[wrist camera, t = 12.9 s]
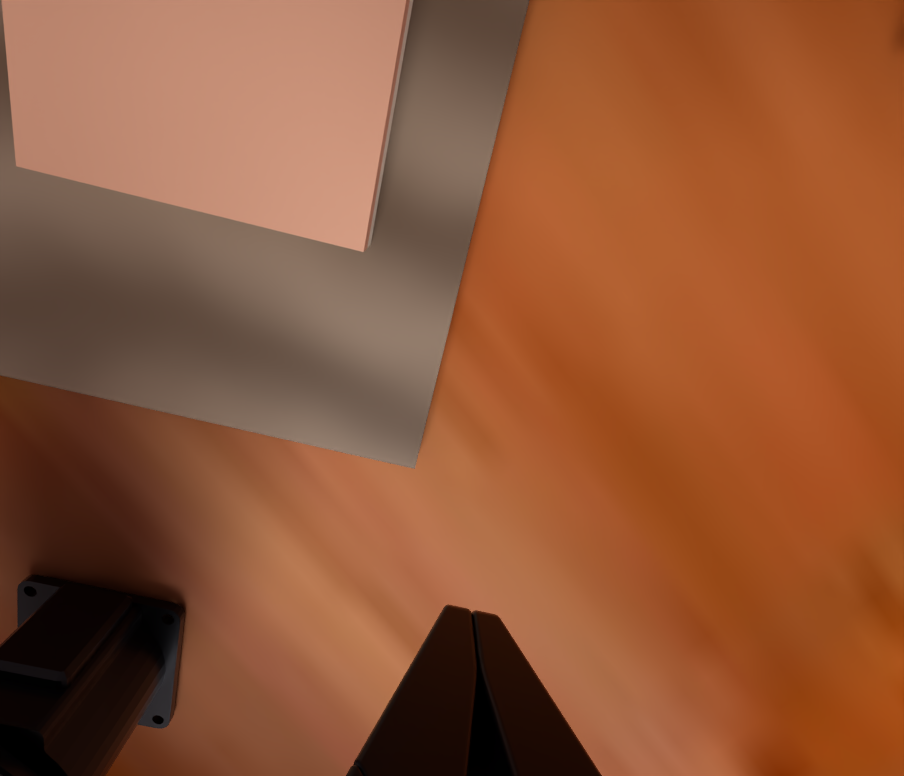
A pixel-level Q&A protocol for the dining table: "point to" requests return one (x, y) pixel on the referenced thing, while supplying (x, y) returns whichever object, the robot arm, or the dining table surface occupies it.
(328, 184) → the tile
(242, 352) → the board
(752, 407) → the dining table surface
